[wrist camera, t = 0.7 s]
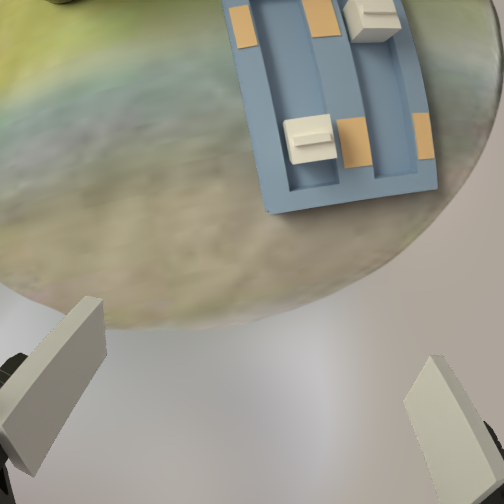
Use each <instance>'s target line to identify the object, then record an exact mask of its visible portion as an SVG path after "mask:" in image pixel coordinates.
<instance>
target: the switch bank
mask: <svg viewBox="0 0 504 504" xmlns="http://www.w3.org/2000/svg"><path fill="white" fill-rule="evenodd" d="M347 2H348V0H221V3H222V7H223V12H224V16H225V20H226V25H227V29H228V34H229V38H230V43H231V47H232V52H233V56H234V61H235V66H236V70H237V75H238V80H239V84H240V89H241V94H242V98H243V103H244V108H245V113H246V117H247V122H248V127H249V132H250V137H251V142H252V147H253V152H254V157H255V162H256V167H257V172H258V177H259V182H260V187H261V192H262V197H263V202H264V207H265V211H269V213H270V215H272V214H278V213H284V212H290V211H296V210H302V209H308V208H314V207H320V206H326V205H332V204H339V203H345V202H351V201H358V200H365V199H371V198H378V197H385V196H392V195H399V194H406V193H413V192H420V191H428V190H435V189H438V183H437V170H436V160H435V151H434V142H433V135H432V127H431V121H430V114H429V108H428V103H427V97H426V92H425V87H424V82H423V78H422V73H421V69H420V64H419V60H418V56H417V52H416V48H415V44H414V41H413V37H412V34H411V30H410V27H409V24H408V20H407V17H406V14H405V11H404V8H403V5H402V2H401V0H393V3H394V6H395V9H396V12H397V15H398V18H399V21H400V24H401V28H402V29H400V30H399V31H398V32H396V33H395V34H394V35H393V36H391V37H390V38H389V39H387V40H386V41H385V42H378V43H350V42H349V38H348V34H347V31H346V27H345V24H344V20H343V17H342V13H341V12H342V10H343V8H344V7H345V5H346V3H347ZM324 114H330V119H331V124H332V129H333V135H334V141H335V147H336V153H337V158H332V159H325V160H319V161H312V162H306V163H299V164H292V163H291V162H290V161H289V156H288V150H287V145H286V140H285V135H284V130H283V125H282V123H283V122H284V120H289V119H295V118H302V117H309V116H316V115H324Z"/></svg>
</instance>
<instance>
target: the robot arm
mask: <svg viewBox="0 0 504 504" xmlns="http://www.w3.org/2000/svg"><path fill="white" fill-rule="evenodd" d="M46 1H48V2H51V3H65V2H69V1H72V0H46ZM106 356H107V350H106V340H105V326H104V310H103V300H102V299H99V298H95V297H91V296H88V295H86V296H85V297H84V298H83V299H82V300H81V301H80V302H79V303H78V304H77V305H76V306H75V307H74V308H73V309H72V310H71V311H70V312H69V313H68V314H67V315H66V316H65V317H64V318H63V319H62V320H61V321H60V322H59V323H58V324H57V326H56V327H55V328H54V329H53V330H52V331H51V332H50V333H49V334H48V335H47V336H46V337H45V338H44V340H43V341H42V342H41V343H40V344H39V345H38V346H37V347H36V348H35V349H34V351H33V352H32V353H31V354H30V355H29V356H27V355H25V354H22V353H18V354H17V355H15V356H13V357H11V358H9V359H8V360H7V361H6V362H5V363H4V364H3V365H2V366H1V367H0V504H16V503H15V499H14V496H13V492H12V488H11V484H10V480H9V476H8V471H7V468H6V466H5V463H6V461H7V459H8V458H9V459H10V461H11V462H12V464H13V465H14V466H15V467H16V468H18V469H19V470H21V471H23V472H25V473H26V474H28V475H30V476H32V477H34V476H35V475H36V473H37V471H38V469H39V468H40V466H41V464H42V462H43V460H44V458H45V457H46V455H47V453H48V451H49V450H50V448H51V446H52V444H53V443H54V441H55V439H56V437H57V436H58V434H59V432H60V430H61V429H62V427H63V425H64V424H65V422H66V420H67V418H68V417H69V415H70V413H71V412H72V410H73V408H74V407H75V405H76V404H77V402H78V400H79V399H80V397H81V395H82V394H83V392H84V390H85V389H86V387H87V386H88V384H89V382H90V380H91V379H92V378H93V376H94V374H95V373H96V371H97V370H98V368H99V367H100V365H101V364H102V362H103V360H104V359H105V357H106ZM403 404H404V406H405V408H406V411H407V413H408V416H409V418H410V421H411V423H412V426H413V429H414V431H415V434H416V437H417V439H418V442H419V445H420V447H421V450H422V453H423V456H424V458H425V461H426V464H427V467H428V470H429V473H430V475H431V479H432V482H433V484H434V487H435V490H436V494H437V497H438V500H439V503H440V504H504V449H502V446H501V444H500V442H499V441H498V438H497V436H496V435H495V433H494V431H493V429H492V428H491V427H490V426H489V425H488V424H487V423H486V422H485V421H482V419H481V417H480V416H479V414H478V412H477V410H476V408H475V407H474V405H473V403H472V402H471V400H470V398H469V396H468V395H467V393H466V392H465V390H464V388H463V387H462V385H461V383H460V381H459V380H458V378H457V377H456V375H455V373H454V372H453V370H452V369H451V367H450V365H449V364H448V362H447V361H446V359H445V358H444V356H439V355H430V356H429V357H428V359H427V361H426V363H425V365H424V367H423V368H422V370H421V372H420V374H419V375H418V377H417V379H416V381H415V382H414V384H413V386H412V387H411V389H410V391H409V392H408V394H407V396H406V397H405V399H404V400H403Z"/></svg>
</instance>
